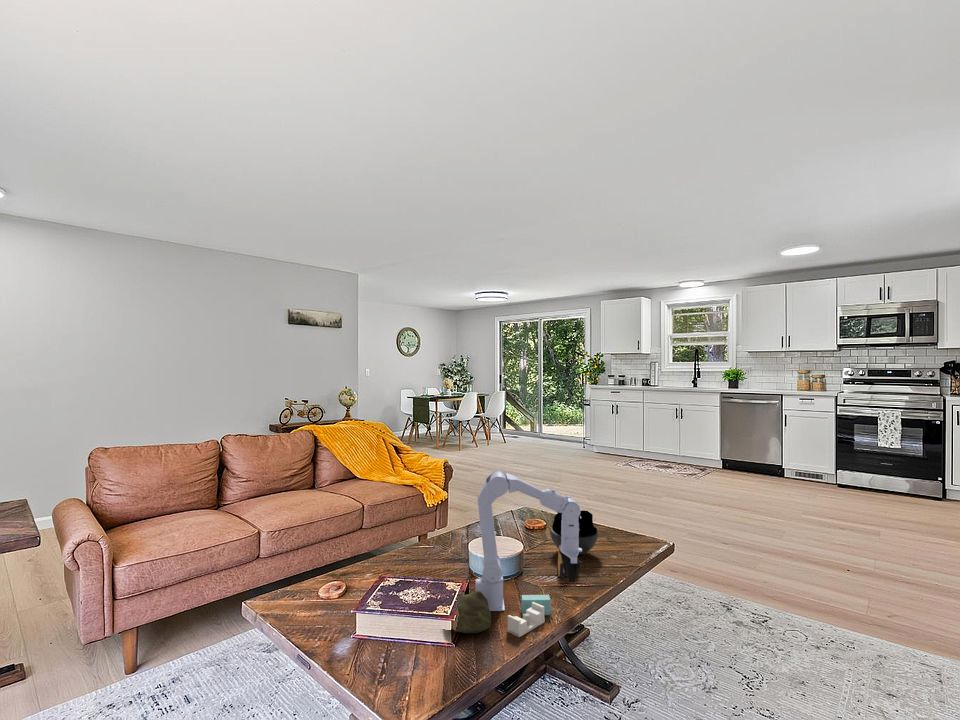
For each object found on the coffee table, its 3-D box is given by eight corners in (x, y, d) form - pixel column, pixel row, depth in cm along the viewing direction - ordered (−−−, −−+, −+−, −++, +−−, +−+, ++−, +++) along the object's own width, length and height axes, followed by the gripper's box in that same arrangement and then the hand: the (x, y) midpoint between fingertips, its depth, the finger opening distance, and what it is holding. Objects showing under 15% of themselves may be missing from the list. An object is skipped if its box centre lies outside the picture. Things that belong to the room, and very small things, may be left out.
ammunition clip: (560, 577, 194) (560, 545, 194) (556, 576, 196) (556, 544, 196) (578, 570, 201) (578, 539, 201) (574, 568, 203) (574, 537, 203)
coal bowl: (599, 564, 206) (599, 517, 206) (549, 561, 209) (549, 515, 209) (596, 546, 226) (596, 503, 226) (550, 544, 229) (550, 501, 229)
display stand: (519, 637, 153) (519, 621, 153) (507, 631, 156) (507, 615, 156) (544, 621, 162) (544, 606, 161) (533, 616, 165) (533, 601, 165)
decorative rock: (439, 643, 152) (435, 610, 152) (450, 613, 168) (446, 583, 167) (489, 642, 150) (486, 608, 150) (495, 611, 166) (492, 581, 165)
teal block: (522, 615, 166) (522, 600, 166) (521, 610, 169) (521, 595, 169) (550, 615, 166) (550, 599, 166) (548, 610, 170) (548, 594, 170)
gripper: (586, 543, 164) (586, 586, 164) (577, 528, 179) (577, 567, 179) (564, 543, 164) (564, 586, 164) (557, 528, 179) (556, 567, 179)
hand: (569, 576), depth 172 cm, fingers open, 7 cm apart
